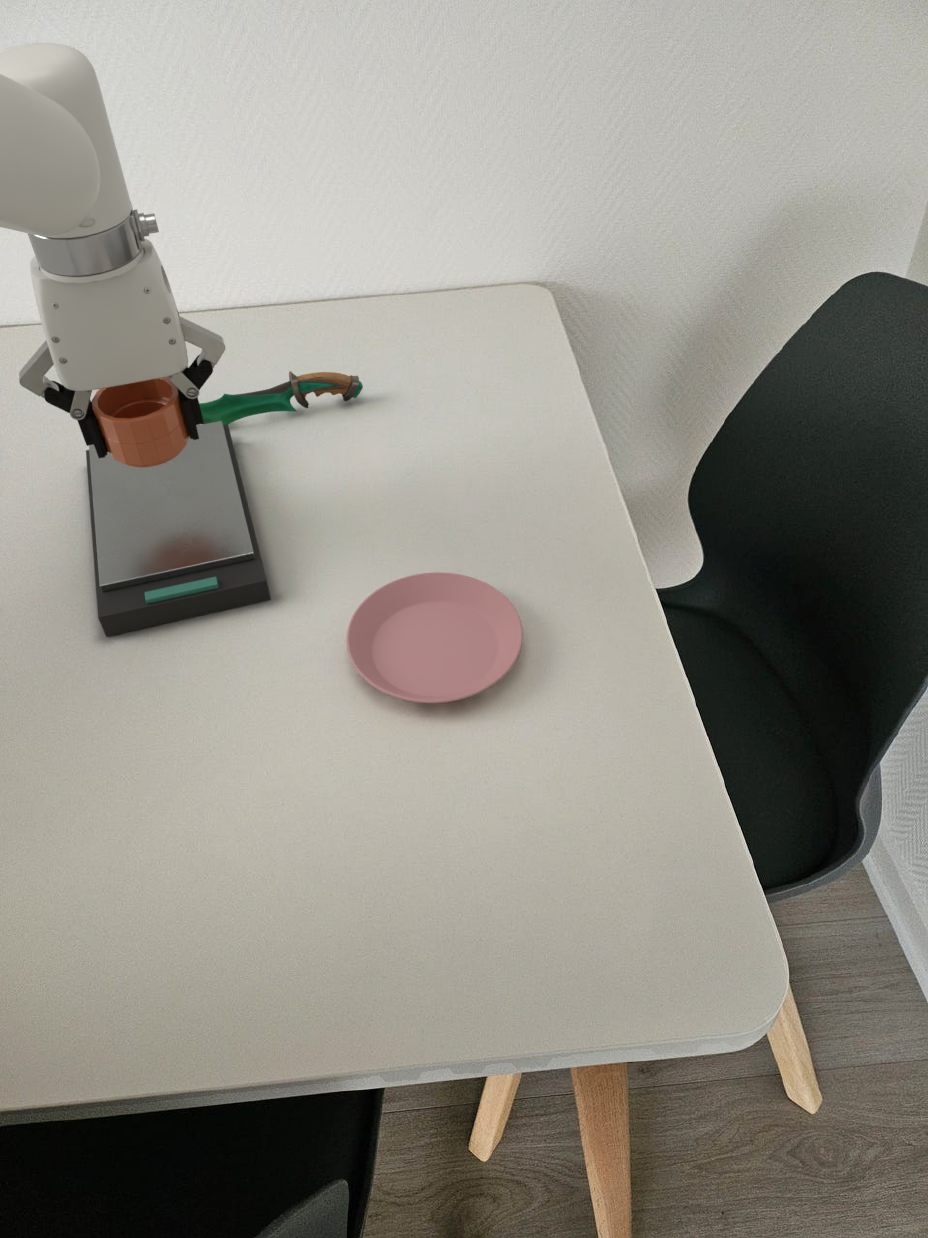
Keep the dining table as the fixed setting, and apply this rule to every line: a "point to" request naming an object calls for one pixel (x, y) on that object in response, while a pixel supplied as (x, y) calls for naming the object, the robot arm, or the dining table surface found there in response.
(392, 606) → the plate
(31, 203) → the robot arm
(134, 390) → the bowl
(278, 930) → the dining table surface
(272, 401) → the knife
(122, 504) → the scale
